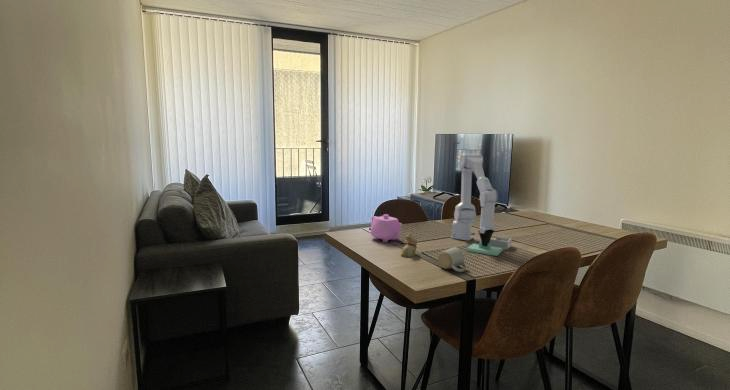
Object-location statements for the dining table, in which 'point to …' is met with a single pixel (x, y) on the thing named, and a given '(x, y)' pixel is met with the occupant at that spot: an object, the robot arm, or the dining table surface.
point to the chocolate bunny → (409, 246)
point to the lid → (485, 249)
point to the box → (500, 242)
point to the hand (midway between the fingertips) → (485, 245)
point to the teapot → (385, 228)
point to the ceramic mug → (452, 259)
